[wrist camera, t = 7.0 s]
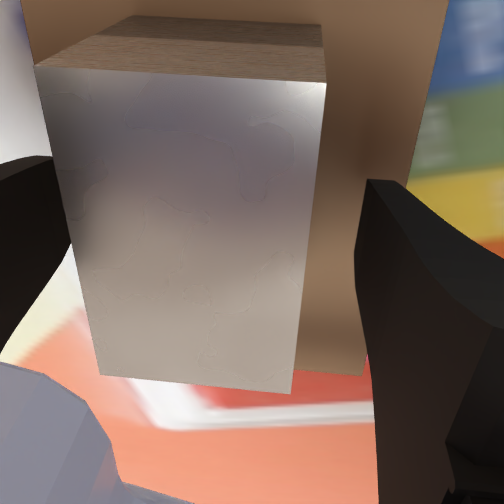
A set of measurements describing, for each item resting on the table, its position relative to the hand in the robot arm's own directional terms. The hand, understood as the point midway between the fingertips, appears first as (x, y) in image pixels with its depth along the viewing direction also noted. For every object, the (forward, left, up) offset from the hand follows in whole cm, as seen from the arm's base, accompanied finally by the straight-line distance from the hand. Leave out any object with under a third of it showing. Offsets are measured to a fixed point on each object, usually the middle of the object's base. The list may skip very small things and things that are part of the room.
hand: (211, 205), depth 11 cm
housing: (0, 0, -2) cm, 2 cm away
